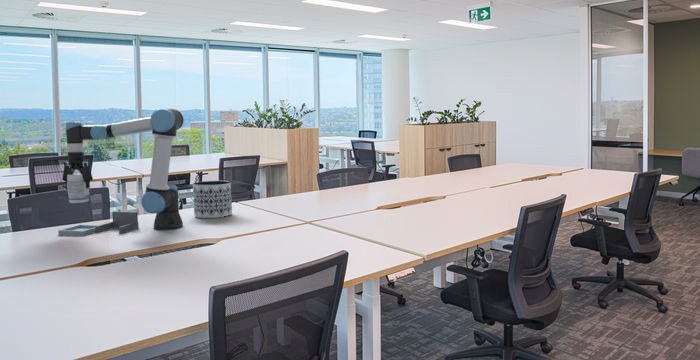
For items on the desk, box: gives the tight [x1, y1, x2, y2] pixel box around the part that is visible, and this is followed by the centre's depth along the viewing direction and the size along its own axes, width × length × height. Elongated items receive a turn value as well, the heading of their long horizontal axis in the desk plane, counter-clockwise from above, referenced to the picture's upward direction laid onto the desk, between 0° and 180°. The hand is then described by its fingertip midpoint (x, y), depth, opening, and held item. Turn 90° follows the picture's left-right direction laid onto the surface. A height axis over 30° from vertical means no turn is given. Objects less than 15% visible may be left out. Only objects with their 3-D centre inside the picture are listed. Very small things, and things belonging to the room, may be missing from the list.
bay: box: [95, 210, 139, 235], centre depth 284 cm, size 14×15×9 cm
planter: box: [192, 180, 233, 219], centre depth 325 cm, size 22×22×20 cm
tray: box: [57, 224, 99, 237], centre depth 281 cm, size 15×15×2 cm
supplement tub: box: [67, 173, 90, 204], centre depth 278 cm, size 10×10×15 cm
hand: (78, 194), depth 279 cm, fingers closed on supplement tub, 10 cm apart
